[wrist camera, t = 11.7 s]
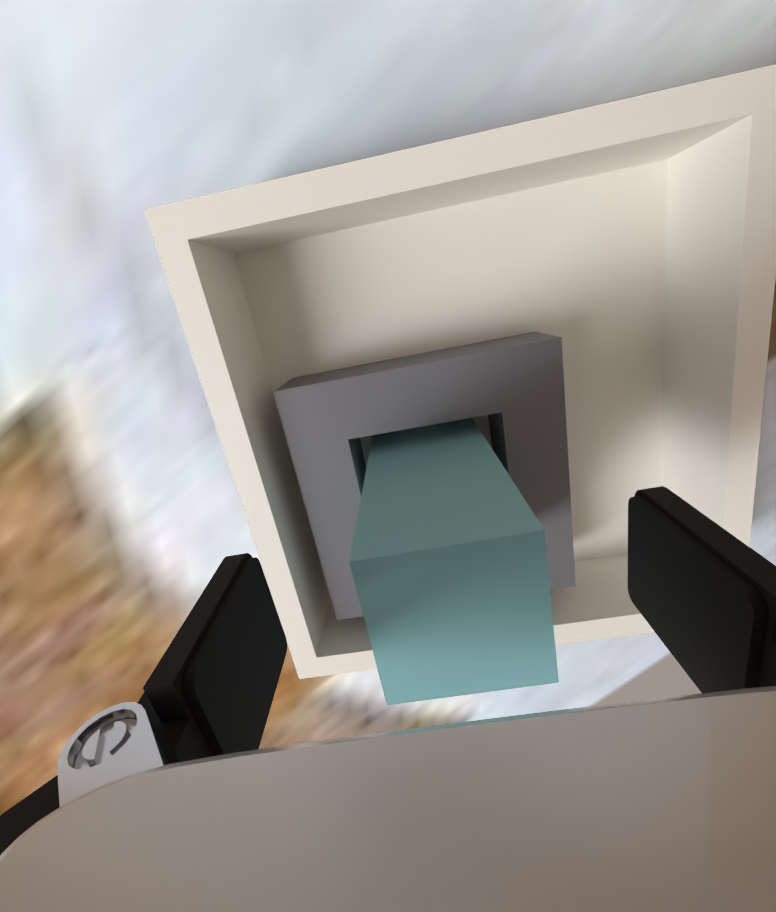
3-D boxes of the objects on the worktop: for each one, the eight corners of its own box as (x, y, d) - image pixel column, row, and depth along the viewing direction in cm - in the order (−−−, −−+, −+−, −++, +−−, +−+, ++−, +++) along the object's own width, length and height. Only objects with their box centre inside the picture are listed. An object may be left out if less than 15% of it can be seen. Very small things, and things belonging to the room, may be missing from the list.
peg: (373, 432, 19) (349, 562, 9) (469, 413, 19) (544, 530, 9) (391, 517, 20) (387, 705, 11) (482, 501, 20) (558, 682, 10)
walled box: (207, 232, 17) (143, 209, 13) (687, 125, 15) (796, 59, 11) (317, 608, 23) (299, 678, 19) (673, 557, 21) (742, 620, 17)
